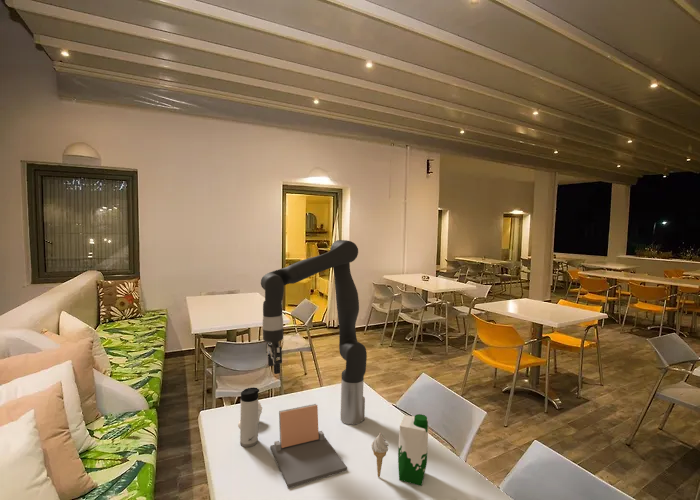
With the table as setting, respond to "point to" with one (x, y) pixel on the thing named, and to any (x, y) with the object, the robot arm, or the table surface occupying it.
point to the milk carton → (413, 448)
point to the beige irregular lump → (258, 413)
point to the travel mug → (249, 417)
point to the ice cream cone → (379, 450)
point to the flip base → (307, 461)
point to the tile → (298, 425)
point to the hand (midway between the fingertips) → (274, 369)
